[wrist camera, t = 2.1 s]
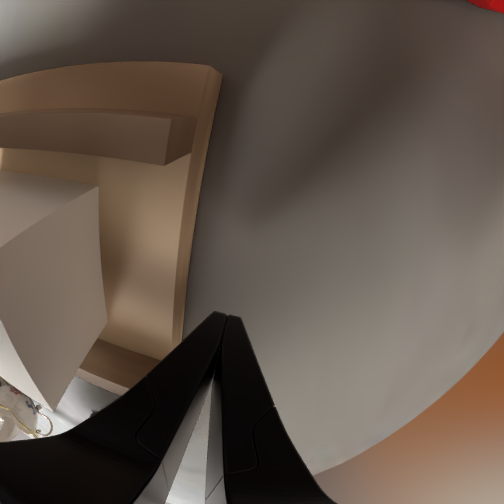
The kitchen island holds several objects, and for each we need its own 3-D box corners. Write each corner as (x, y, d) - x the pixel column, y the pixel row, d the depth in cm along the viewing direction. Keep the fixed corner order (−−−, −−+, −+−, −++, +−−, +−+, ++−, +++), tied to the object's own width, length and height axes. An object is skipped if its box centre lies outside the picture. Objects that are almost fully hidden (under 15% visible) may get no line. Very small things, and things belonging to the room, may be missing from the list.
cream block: (108, 321, 11) (53, 412, 6) (19, 283, 10) (-37, 343, 6) (99, 185, 8) (-20, 262, 3) (0, 169, 8) (-86, 216, 3)
